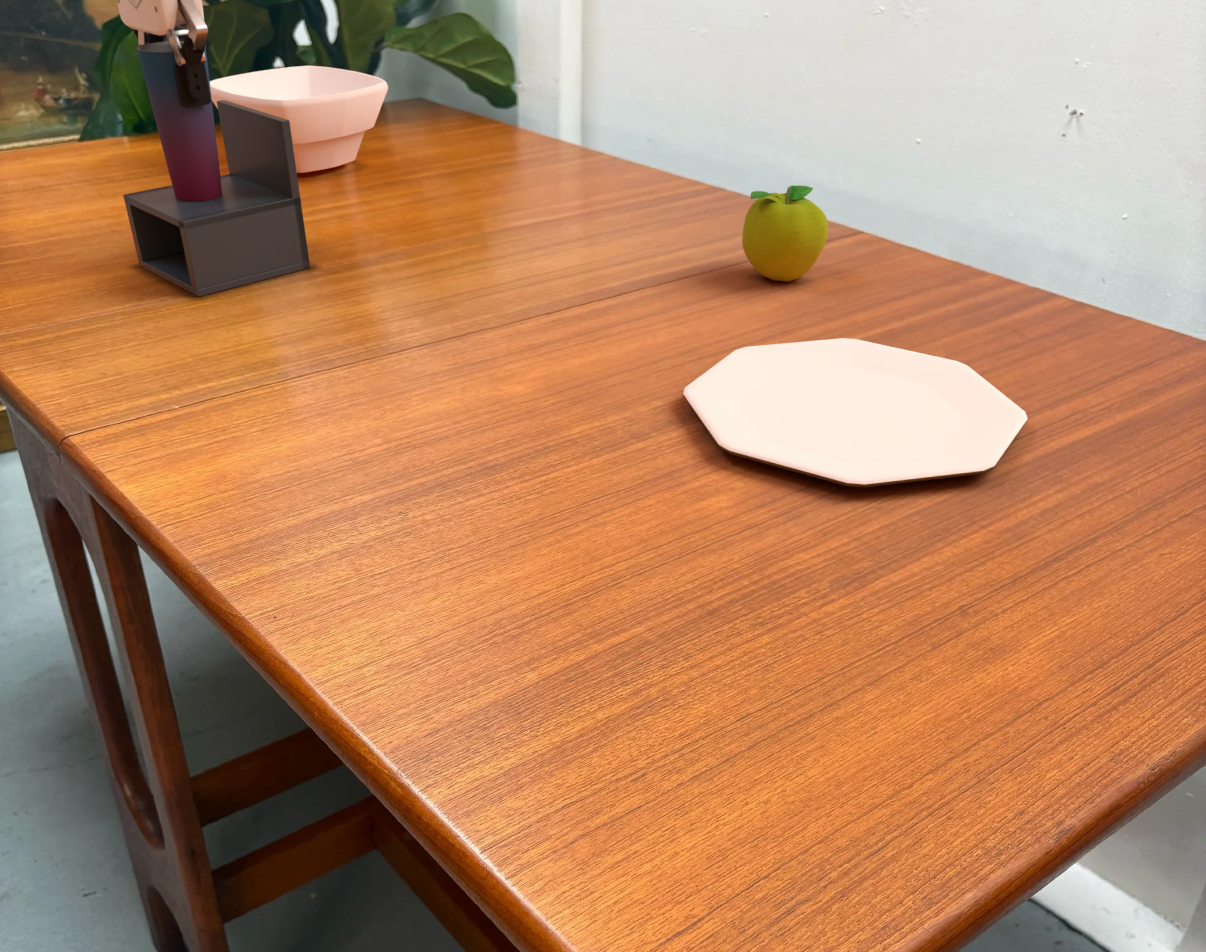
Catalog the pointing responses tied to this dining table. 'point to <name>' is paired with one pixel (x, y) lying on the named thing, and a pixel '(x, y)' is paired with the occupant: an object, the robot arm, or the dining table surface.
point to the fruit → (784, 233)
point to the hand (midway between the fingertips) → (180, 98)
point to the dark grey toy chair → (228, 213)
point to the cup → (181, 127)
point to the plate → (855, 412)
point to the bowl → (311, 108)
